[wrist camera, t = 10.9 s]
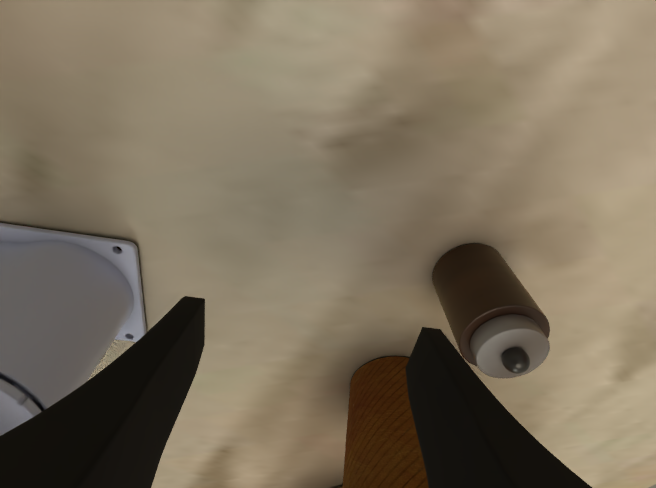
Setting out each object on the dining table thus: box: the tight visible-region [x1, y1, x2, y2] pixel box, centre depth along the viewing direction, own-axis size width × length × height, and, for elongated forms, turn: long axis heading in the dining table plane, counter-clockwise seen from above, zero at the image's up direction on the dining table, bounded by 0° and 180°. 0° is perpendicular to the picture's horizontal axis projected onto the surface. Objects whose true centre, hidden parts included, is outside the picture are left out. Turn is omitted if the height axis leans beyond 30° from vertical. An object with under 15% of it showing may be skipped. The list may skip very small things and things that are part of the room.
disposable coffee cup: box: [343, 356, 429, 488], centre depth 24 cm, size 10×10×12 cm
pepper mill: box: [432, 244, 550, 378], centre depth 20 cm, size 4×4×8 cm
